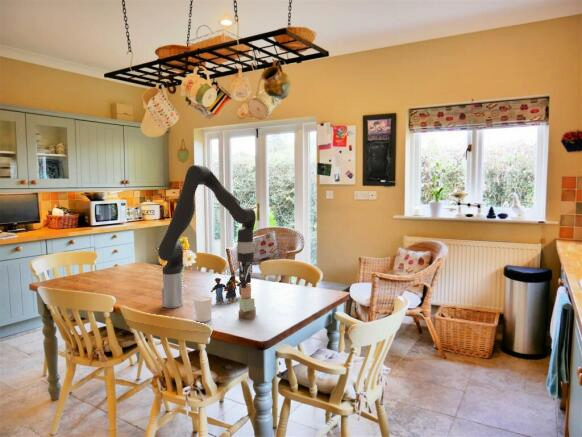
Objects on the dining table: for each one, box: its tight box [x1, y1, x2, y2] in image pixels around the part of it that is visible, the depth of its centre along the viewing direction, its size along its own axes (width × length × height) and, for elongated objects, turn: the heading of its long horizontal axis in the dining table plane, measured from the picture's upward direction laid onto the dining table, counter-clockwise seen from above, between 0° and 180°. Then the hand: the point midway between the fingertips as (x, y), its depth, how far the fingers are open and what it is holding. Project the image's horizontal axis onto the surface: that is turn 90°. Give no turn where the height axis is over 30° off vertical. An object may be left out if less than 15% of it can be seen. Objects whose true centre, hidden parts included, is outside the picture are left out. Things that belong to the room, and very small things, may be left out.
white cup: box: [193, 295, 213, 323], centre depth 192 cm, size 8×8×10 cm
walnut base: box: [238, 306, 257, 320], centre depth 195 cm, size 7×7×4 cm
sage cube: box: [238, 295, 256, 312], centre depth 194 cm, size 6×6×6 cm
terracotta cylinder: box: [240, 283, 252, 299], centre depth 194 cm, size 5×5×6 cm
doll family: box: [210, 275, 248, 305], centre depth 221 cm, size 23×9×13 cm, turn 152°
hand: (246, 285), depth 193 cm, fingers open, 8 cm apart
